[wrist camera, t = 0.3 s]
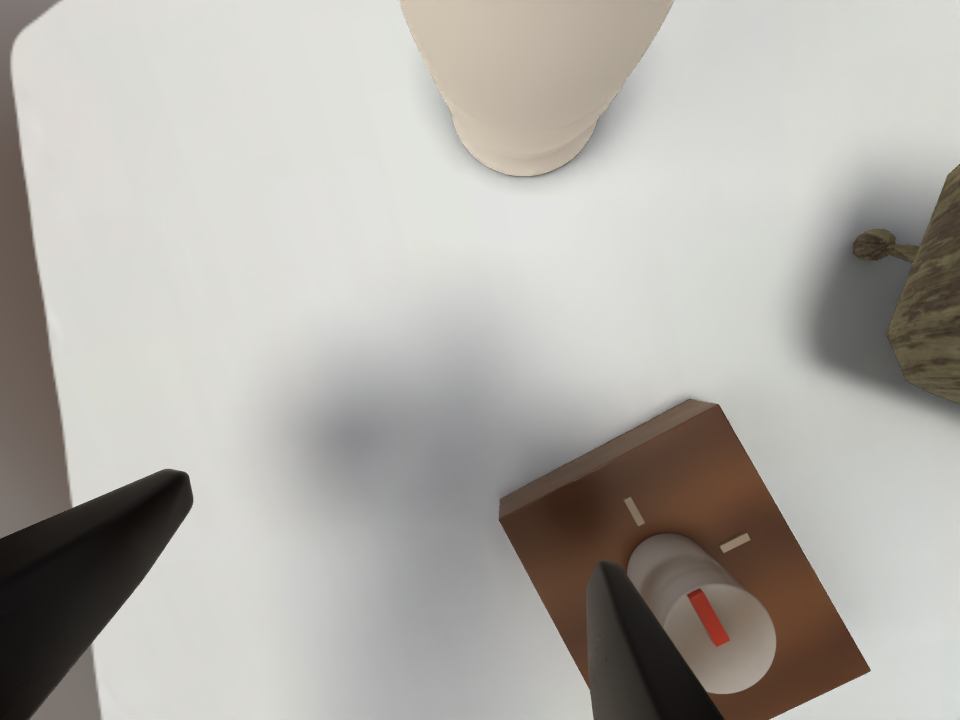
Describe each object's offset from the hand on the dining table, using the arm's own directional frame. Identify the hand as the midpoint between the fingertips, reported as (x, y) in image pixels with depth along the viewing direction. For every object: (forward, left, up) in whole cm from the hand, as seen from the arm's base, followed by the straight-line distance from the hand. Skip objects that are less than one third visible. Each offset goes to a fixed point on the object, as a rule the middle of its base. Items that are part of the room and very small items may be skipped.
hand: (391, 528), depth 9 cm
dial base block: (-12, -6, -14) cm, 19 cm away
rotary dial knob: (-11, -6, -11) cm, 16 cm away
